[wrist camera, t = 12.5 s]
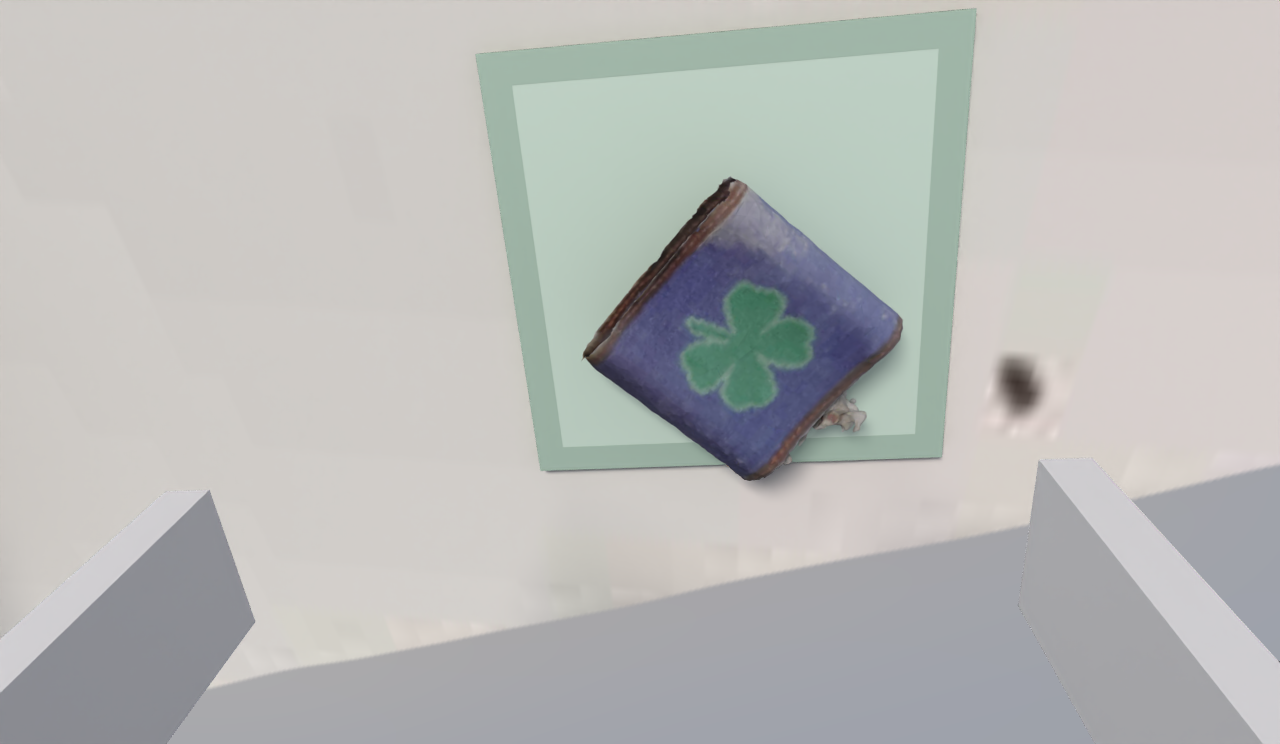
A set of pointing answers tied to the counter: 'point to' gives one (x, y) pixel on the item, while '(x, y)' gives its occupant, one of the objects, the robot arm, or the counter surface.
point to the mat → (691, 172)
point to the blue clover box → (745, 334)
